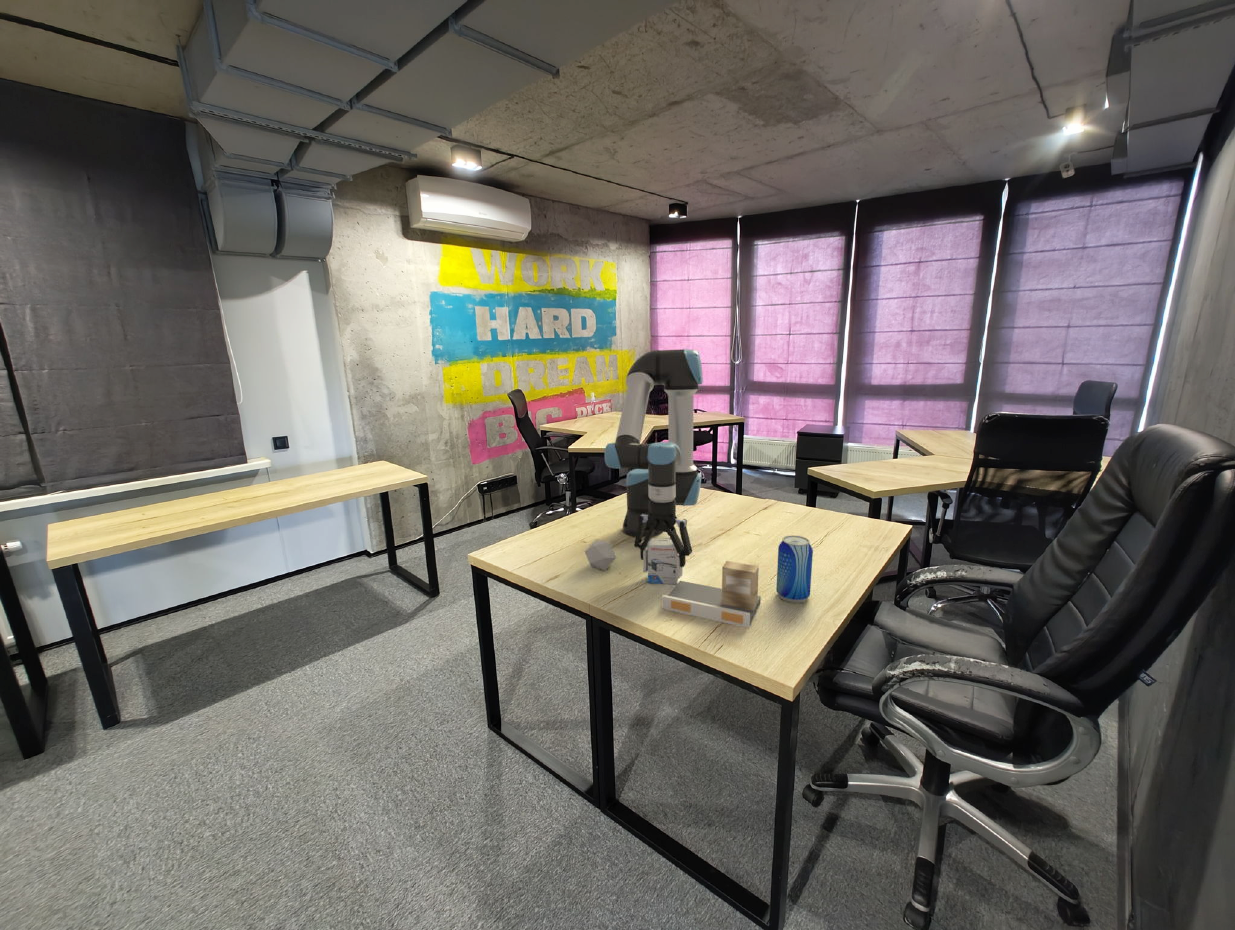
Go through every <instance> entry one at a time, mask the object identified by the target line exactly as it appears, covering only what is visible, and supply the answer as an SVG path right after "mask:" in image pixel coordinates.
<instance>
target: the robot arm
mask: <svg viewBox="0 0 1235 930" xmlns="http://www.w3.org/2000/svg"><path fill="white" fill-rule="evenodd" d="M703 381H704V379H703V367H702V361H701V356H700V353H699V351H698V350H696V349H689V348H688V349H686V348H684V349H683V348H682V349H665V350H663V349H661V350H659V349H655V350H650V351H647V352H646V353H644V354H642V355H641V356H640V357H638V358H637V359H636V360H635V361H634V363H633V364H632V365H631V367H630V369H629V370H628V372H627V375H626V378H625V385H626V387H627V388H626V392H625V398H624V402H623V406H622V411H621V415H620V419H619V424H618V429H617V433H616V438H615V442H612V443H611V442H610V443H607V444H606V446H605V449H604V463H605V466H607V467H608V468H611V469H619V470H623V469H624V470H625V469H626V470H627V469H628V470H630V471H629V472H627V475H626V481H625V485H626V487H625V488H626V513H625V516H624V520H623V523H622V532H623V533H624V534H625V535H627V536H630V537H635V538H634V543H633V546H634V548H638V549H639V551H640V561H642V564H643V566H642V567H643V569H642V570H643V573H648V541H649V540H650V539H653V537H655V536H656V537H657V536H659V535H661V534H662V533H666V534H667V536H668V537H669V539H671V540H672V542H673V544H674V546H675V548H676V550H677V552H678V556H677V557H676V567H677V579H678V580H679V579H681V577H682V576H683V568H684V567H685V566H686V559H687V558H686V557H688V556H690V555H691V554H692V553H693V548H692V545H691V541H690V535H689V532H688V529H687V525H688V523H687V522H688V520H687V519H686V518H683V519H680V518H677V514H676V512H677V510H676V509H677V506H683V507H685V506H686V507H688V506H691V507H692V506H695V505H696V504H697V503H698V499H699V495H700V490H701V484H702V473H700V472H698V467H697V466H696V465H695V464H694V395H695V394H696V393H697V391H698V390H699V386H701V385H703V383H704V382H703ZM657 385H658V386H659V385H660V386H661V385H662V386H663V391H664V392H665V393H666V394H667V396H668V405H667V406H668V409H667V410H668V414H667V415H668V418H667V419H668V421H667V422H668V441H667V442H666V441H664V442H663V441H662V442H661V441H660V442H653V443H641V440H642V433H643V430H644V424H645V419H646V414H647V407H648V403H649V402H648V401H649V399H650V397H649V396H650V393H651V391H652V390H653V389H654V386H657ZM675 525H677V527H678V528H679V535H678V533H677V529H676V527H675ZM643 538H644V539H643ZM680 538H681V539H680Z"/></svg>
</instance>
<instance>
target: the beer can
mask: <svg viewBox="0 0 1235 930" xmlns="http://www.w3.org/2000/svg"><path fill="white" fill-rule="evenodd" d="M810 541H811V540H809V538H807V537H804V536H801V535H794V534H793V535H786V536H784V537H782V540H781V542H780V543H779V544H778V548H777V549H778V552H777V567H776V568H777V571H776V588H775V589H776V591H775V592H776V593H777V595H778V596H779V598H780V599H781V600H782V601H785V602H788V603H792V604H801V603H804V602H806V601H807V600H808V598H810V597H811V596H810V595H811V585H812V571H813V570H812V569H813V552H814V549H813V547H812V546H811V544H810Z"/></svg>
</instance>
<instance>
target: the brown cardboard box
mask: <svg viewBox="0 0 1235 930" xmlns="http://www.w3.org/2000/svg"><path fill="white" fill-rule="evenodd" d="M759 567H760V566H759V565H753V564H746V563H741V562H736V561H729V560H726V561H725V562H724V564H723V565H722V569H721V570H722V571H721V572H722V573H721V575H722V576H721V589H722V604H724V605H729V606H734V607H739V608H744V609H748V610H753V611H754V609H755V607H756V605H757V598H758V596H759V595H758V593H759V570H760V569H759Z"/></svg>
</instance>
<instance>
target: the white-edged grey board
mask: <svg viewBox="0 0 1235 930" xmlns="http://www.w3.org/2000/svg"><path fill="white" fill-rule="evenodd" d="M661 597H662V598H661V599H662V600H661V601H662V603H661V604H662V609H663V610H667V611H669V612H670V611H671V612H674V613H675V612H676V613H680V614H685V615H689V616H693V617H697V618H703V619H707V620H711V621H716V622H720V623H724V624H728V625H733V626H738V627H742V628H746V629H750V627H751V624H752V623H753V620H754V618H755V616H756V614H757V611H758V609H759V607H760V606H761V599H762V597H761V595H758V598H757V605H756V607H755V609H754V611H753V610H748V609H744V608H739V607H734V606H729V605H724V604H722V587H721V588H720V587H716V586H709V585H705V584H699V583H694V582H689V581H684V580H678V583H677V584H675V586H674V587H673V588H672V590H671V591H670V592H669V593H668V594H667V595H666V594H663V595H662V596H661Z"/></svg>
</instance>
